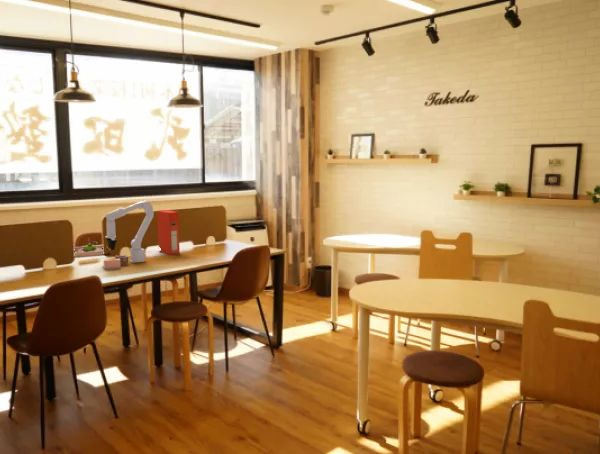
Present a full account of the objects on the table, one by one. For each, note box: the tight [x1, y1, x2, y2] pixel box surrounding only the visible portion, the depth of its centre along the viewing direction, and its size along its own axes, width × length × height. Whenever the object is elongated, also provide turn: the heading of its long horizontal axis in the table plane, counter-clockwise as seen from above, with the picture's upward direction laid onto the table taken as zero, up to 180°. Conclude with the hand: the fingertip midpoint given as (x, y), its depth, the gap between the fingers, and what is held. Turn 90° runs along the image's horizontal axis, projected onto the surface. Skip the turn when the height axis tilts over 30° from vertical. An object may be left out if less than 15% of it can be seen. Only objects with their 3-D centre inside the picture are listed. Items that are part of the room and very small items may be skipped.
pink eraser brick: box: [103, 258, 122, 269], centre depth 359 cm, size 10×3×5 cm, turn 118°
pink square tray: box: [73, 244, 104, 258], centre depth 410 cm, size 25×25×3 cm
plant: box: [76, 238, 103, 253], centre depth 410 cm, size 20×20×11 cm
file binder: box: [157, 209, 180, 256], centre depth 412 cm, size 8×17×32 cm, turn 44°
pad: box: [102, 265, 122, 271], centre depth 360 cm, size 10×10×1 cm
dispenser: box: [115, 254, 129, 266], centre depth 370 cm, size 7×6×6 cm
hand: (111, 248), depth 374 cm, fingers open, 7 cm apart
